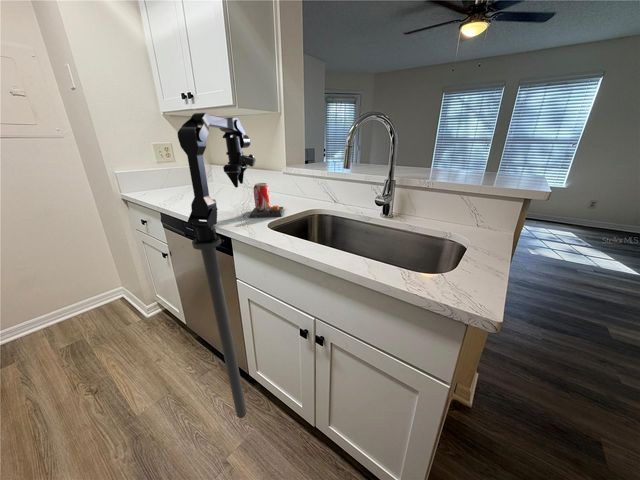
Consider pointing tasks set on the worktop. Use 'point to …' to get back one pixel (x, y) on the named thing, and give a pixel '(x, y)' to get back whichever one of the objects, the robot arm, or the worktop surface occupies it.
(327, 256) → the worktop surface
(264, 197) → the soda can
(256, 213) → the scale
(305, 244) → the worktop surface
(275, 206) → the tare button
